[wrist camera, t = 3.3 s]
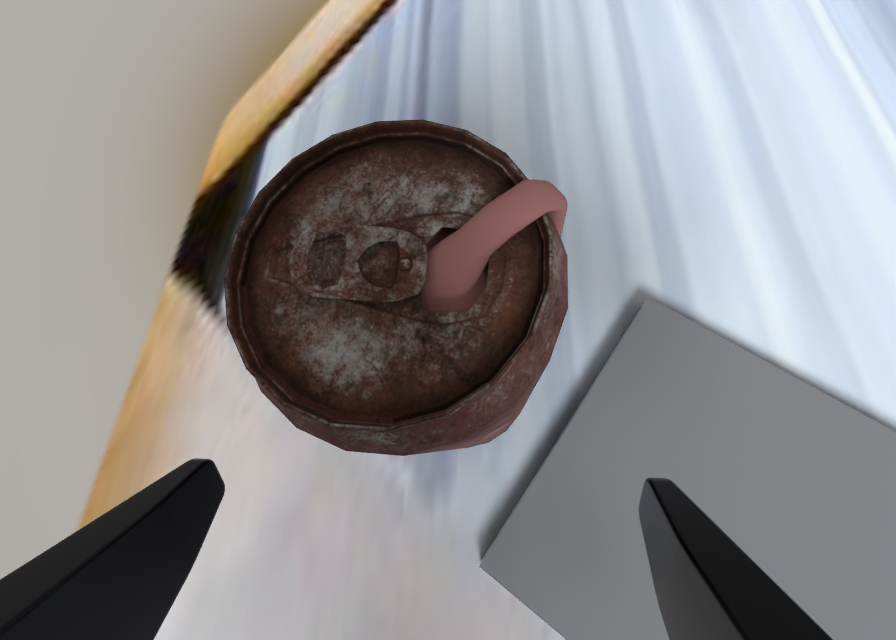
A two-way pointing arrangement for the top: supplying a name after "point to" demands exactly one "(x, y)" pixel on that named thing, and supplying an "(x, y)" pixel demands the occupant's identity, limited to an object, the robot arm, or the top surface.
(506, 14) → the top surface
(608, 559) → the plate
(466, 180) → the can
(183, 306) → the top surface
